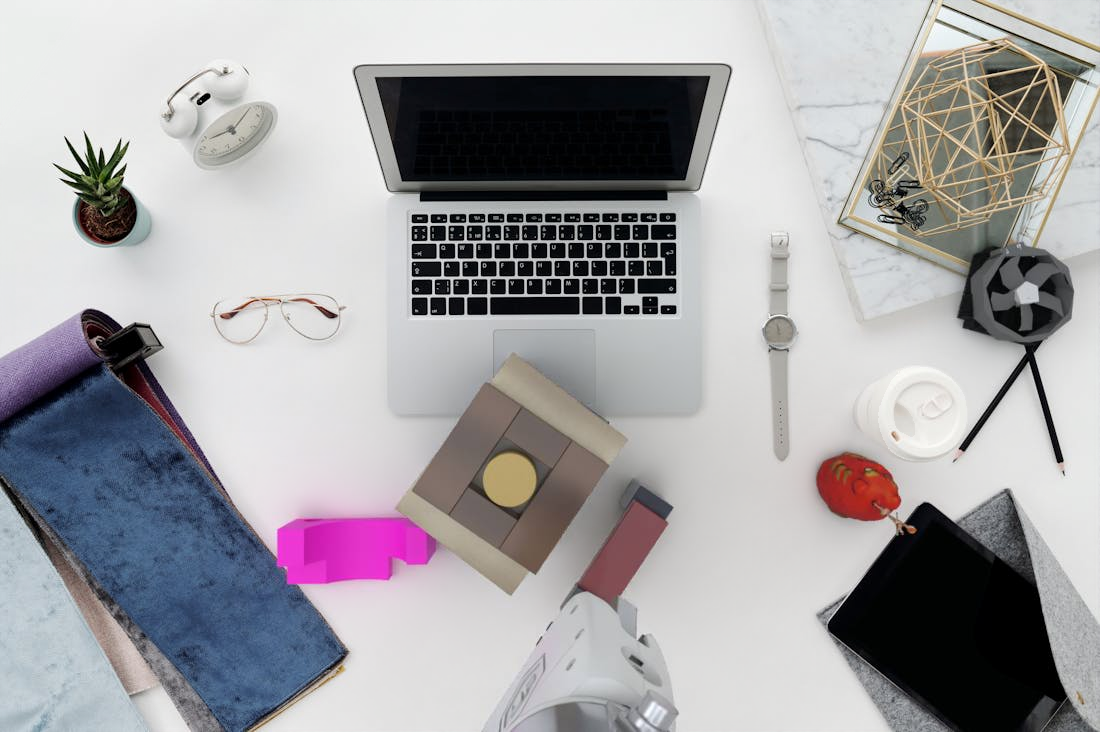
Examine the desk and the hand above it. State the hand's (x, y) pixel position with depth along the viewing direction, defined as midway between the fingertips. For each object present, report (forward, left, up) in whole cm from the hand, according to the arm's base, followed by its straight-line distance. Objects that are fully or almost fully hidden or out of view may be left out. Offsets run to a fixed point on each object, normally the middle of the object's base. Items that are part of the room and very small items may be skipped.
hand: (565, 646), depth 46 cm
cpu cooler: (+49, -27, -39) cm, 68 cm away
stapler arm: (+1, -6, -31) cm, 32 cm away
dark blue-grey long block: (+3, -6, -39) cm, 40 cm away
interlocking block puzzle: (+5, +8, -39) cm, 40 cm away
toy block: (-13, +16, -39) cm, 44 cm away
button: (+5, +8, -14) cm, 17 cm away
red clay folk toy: (+22, -24, -39) cm, 51 cm away
